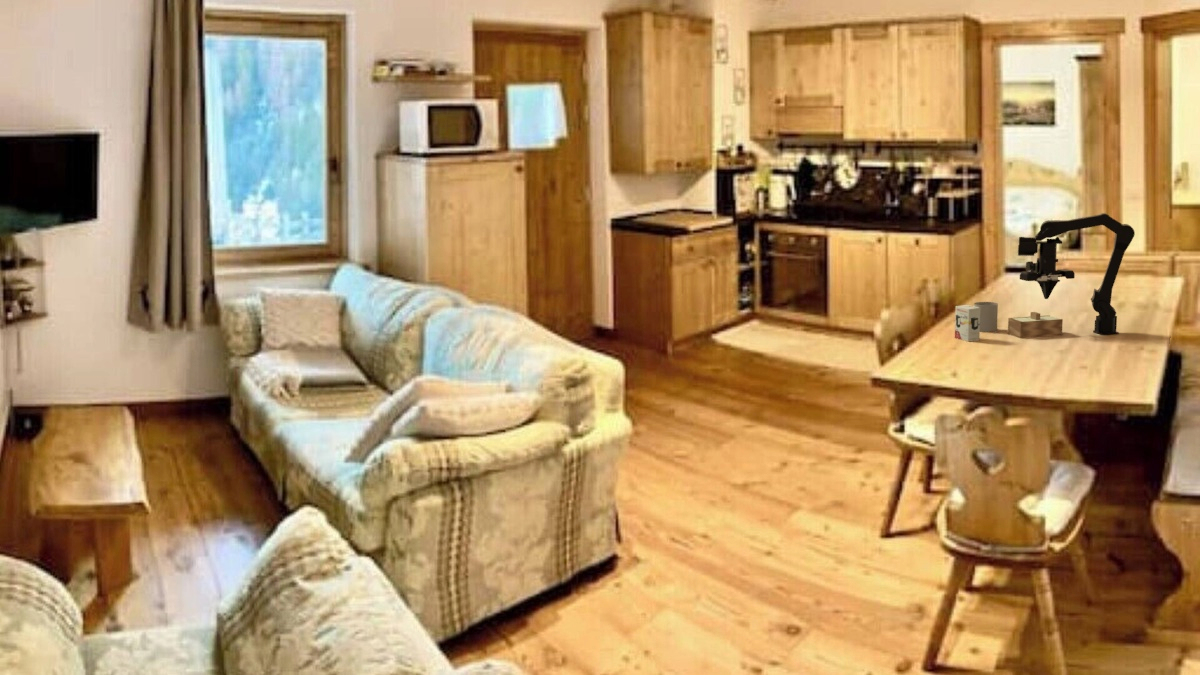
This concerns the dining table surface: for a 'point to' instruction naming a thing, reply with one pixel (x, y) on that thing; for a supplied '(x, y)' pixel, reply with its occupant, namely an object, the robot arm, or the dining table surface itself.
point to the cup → (988, 316)
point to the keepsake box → (1034, 328)
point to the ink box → (967, 323)
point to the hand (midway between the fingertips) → (1046, 298)
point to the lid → (1035, 317)
